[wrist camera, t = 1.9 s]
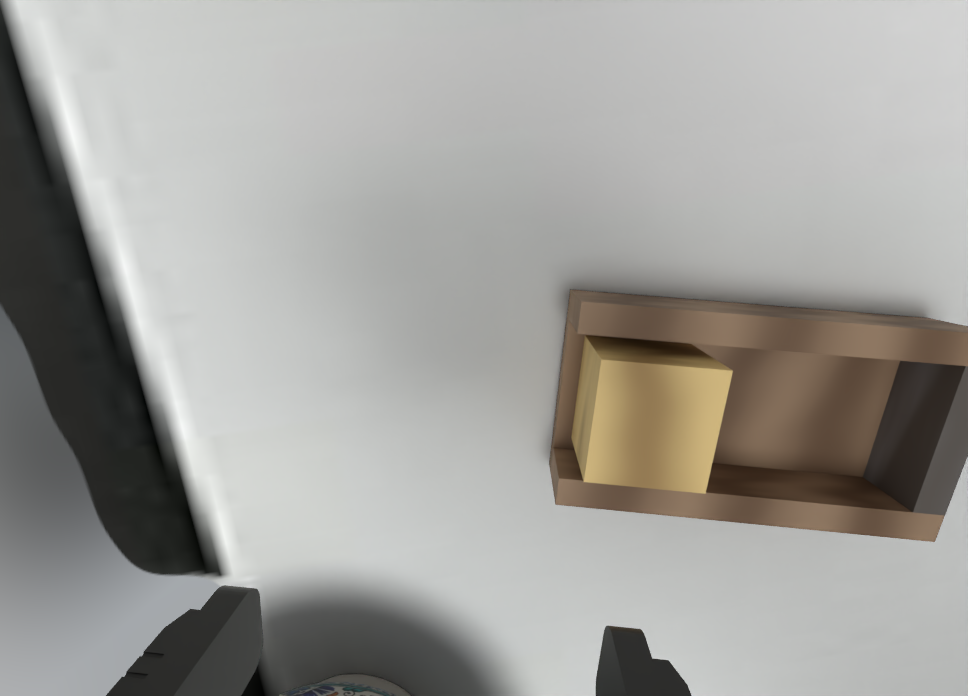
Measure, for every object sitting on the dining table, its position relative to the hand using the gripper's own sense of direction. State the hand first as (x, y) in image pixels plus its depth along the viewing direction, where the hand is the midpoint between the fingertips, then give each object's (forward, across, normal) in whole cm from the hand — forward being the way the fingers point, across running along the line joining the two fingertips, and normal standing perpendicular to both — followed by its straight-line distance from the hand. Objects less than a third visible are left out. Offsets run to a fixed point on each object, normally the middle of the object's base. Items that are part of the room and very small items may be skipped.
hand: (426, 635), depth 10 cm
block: (+17, -9, 0) cm, 19 cm away
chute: (+18, -15, 0) cm, 24 cm away
